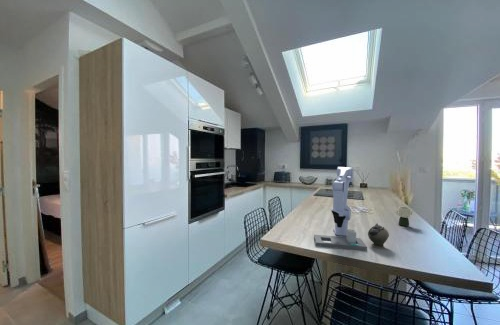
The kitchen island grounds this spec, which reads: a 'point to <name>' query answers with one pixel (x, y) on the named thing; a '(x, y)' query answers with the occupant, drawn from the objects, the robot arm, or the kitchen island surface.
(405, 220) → the character mug
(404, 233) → the kitchen island surface
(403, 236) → the kitchen island surface
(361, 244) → the grey mounting plate
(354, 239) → the plug block
